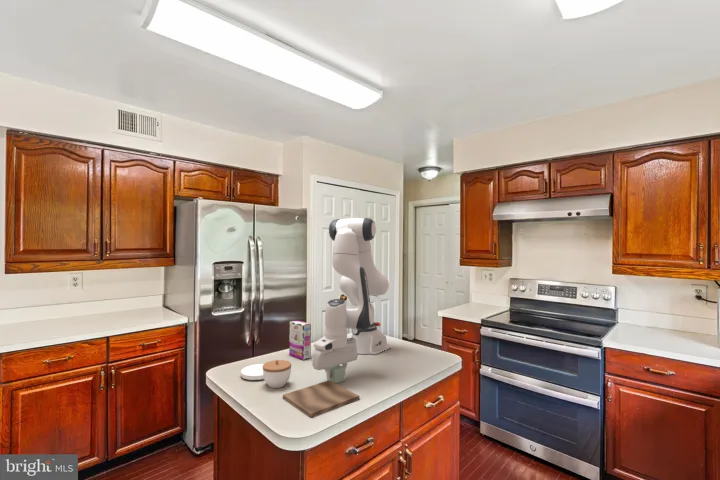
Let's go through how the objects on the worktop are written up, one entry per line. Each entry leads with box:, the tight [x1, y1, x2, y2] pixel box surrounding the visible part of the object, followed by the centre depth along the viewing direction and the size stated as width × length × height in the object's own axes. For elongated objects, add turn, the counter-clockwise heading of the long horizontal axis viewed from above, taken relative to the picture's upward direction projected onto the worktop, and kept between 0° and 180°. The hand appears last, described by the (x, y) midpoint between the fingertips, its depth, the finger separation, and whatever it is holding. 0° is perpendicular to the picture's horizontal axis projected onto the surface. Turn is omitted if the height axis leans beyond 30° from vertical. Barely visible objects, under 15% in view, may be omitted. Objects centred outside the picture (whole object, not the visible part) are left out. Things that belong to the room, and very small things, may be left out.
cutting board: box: [282, 380, 360, 418], centre depth 122 cm, size 20×18×1 cm
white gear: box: [240, 363, 265, 381], centre depth 144 cm, size 14×14×2 cm
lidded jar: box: [263, 359, 292, 389], centre depth 134 cm, size 11×11×9 cm
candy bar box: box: [288, 320, 312, 361], centre depth 167 cm, size 11×5×16 cm, turn 47°
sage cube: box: [326, 364, 346, 384], centre depth 139 cm, size 5×5×5 cm
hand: (335, 375), depth 139 cm, fingers closed on sage cube, 5 cm apart
